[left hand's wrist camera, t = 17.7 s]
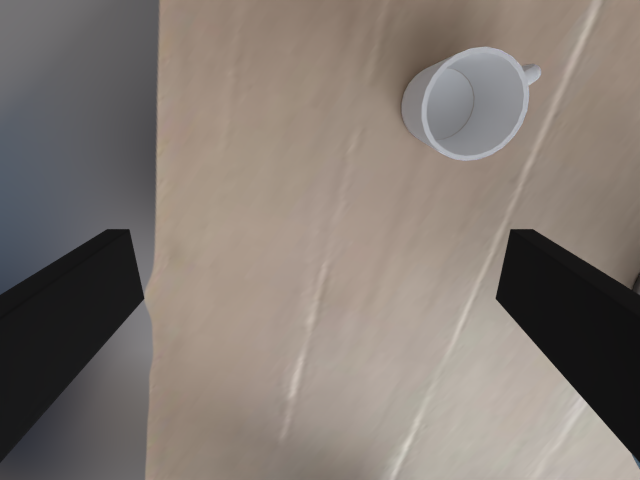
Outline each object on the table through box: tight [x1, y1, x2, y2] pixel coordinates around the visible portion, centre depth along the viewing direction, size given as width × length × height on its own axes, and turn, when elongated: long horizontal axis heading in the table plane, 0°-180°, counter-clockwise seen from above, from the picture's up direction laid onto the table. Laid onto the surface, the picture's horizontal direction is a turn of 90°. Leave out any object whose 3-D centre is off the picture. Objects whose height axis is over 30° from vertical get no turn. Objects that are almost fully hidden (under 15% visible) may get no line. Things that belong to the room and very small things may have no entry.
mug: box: [401, 47, 541, 161], centre depth 34 cm, size 11×9×10 cm
